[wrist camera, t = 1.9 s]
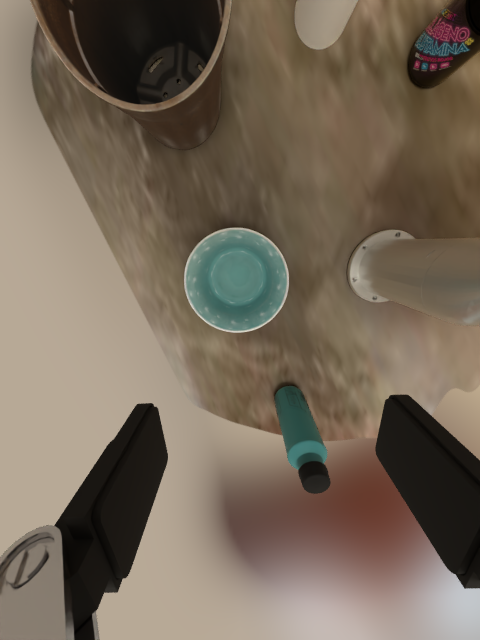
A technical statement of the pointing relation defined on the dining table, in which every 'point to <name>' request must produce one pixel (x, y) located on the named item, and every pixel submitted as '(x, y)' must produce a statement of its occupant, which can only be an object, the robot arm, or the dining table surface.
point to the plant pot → (146, 58)
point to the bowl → (236, 280)
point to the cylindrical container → (322, 21)
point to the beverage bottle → (302, 439)
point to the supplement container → (446, 43)
